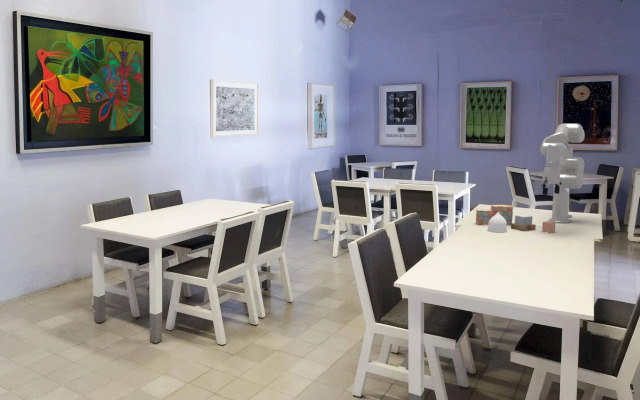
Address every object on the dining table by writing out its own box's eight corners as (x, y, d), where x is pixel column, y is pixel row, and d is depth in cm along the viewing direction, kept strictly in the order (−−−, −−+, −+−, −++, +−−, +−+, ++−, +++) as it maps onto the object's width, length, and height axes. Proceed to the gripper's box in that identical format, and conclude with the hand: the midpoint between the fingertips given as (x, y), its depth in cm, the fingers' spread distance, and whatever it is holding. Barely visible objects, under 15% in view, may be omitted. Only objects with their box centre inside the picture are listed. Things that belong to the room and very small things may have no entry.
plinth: (522, 226, 342) (522, 222, 342) (535, 229, 333) (535, 224, 333) (510, 228, 338) (511, 223, 337) (523, 231, 329) (523, 226, 328)
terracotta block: (548, 230, 330) (548, 221, 329) (554, 232, 326) (555, 222, 325) (542, 231, 328) (542, 221, 327) (548, 233, 324) (549, 223, 323)
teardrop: (483, 230, 331) (484, 211, 329) (494, 228, 338) (495, 209, 336) (499, 233, 322) (500, 213, 321) (510, 231, 329) (511, 211, 327)
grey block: (523, 222, 340) (523, 214, 339) (531, 224, 333) (532, 216, 333) (514, 223, 336) (515, 215, 336) (523, 225, 330) (524, 217, 329)
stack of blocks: (477, 225, 348) (478, 205, 346) (475, 223, 354) (476, 204, 352) (512, 225, 346) (513, 206, 344) (509, 223, 352) (510, 204, 350)
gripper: (557, 164, 328) (555, 192, 330) (537, 164, 320) (535, 194, 323) (568, 165, 321) (566, 194, 324) (547, 165, 314) (545, 195, 316)
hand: (550, 194), depth 323 cm, fingers open, 9 cm apart
